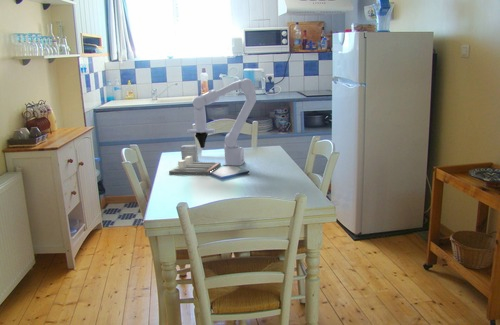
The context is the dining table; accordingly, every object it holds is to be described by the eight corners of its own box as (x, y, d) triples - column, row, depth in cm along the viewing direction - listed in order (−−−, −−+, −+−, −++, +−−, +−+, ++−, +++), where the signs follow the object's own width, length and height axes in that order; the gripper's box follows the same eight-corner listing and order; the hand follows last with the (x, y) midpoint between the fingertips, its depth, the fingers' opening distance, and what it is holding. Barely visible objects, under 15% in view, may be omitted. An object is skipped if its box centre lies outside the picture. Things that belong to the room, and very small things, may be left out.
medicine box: (198, 160, 247) (197, 144, 245) (196, 162, 242) (195, 146, 240) (184, 160, 248) (182, 145, 246) (182, 162, 243) (180, 146, 241)
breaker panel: (220, 165, 232) (220, 161, 232) (208, 175, 215) (207, 170, 215) (184, 165, 238) (183, 160, 237) (169, 174, 221) (168, 169, 220)
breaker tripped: (186, 167, 225) (185, 159, 224) (183, 169, 221) (182, 161, 221) (182, 167, 226) (181, 159, 225) (178, 169, 222) (178, 161, 221)
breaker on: (192, 163, 233) (192, 156, 232) (189, 165, 229) (189, 157, 228) (188, 163, 233) (187, 155, 232) (185, 165, 230) (184, 157, 229)
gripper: (183, 122, 227) (186, 149, 231) (211, 122, 223) (213, 149, 227) (189, 120, 234) (191, 146, 237) (216, 119, 230) (218, 146, 233)
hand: (202, 147), depth 232 cm, fingers closed
